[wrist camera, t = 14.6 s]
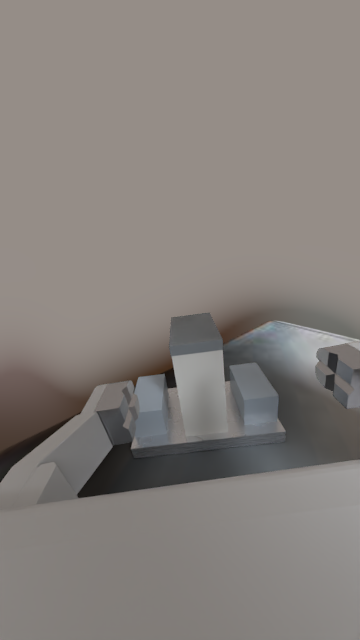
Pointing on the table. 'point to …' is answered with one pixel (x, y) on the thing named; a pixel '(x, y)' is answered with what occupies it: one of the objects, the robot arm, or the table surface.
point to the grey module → (199, 373)
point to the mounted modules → (246, 386)
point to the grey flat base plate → (181, 443)
